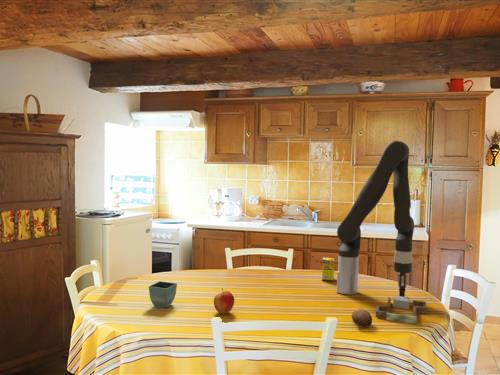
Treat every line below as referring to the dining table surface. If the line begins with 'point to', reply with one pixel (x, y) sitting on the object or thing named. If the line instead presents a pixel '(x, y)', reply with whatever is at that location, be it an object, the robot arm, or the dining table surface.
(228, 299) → the apple
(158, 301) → the flower pot
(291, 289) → the dining table surface
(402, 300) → the block
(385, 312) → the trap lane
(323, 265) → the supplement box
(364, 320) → the brown oval ball
